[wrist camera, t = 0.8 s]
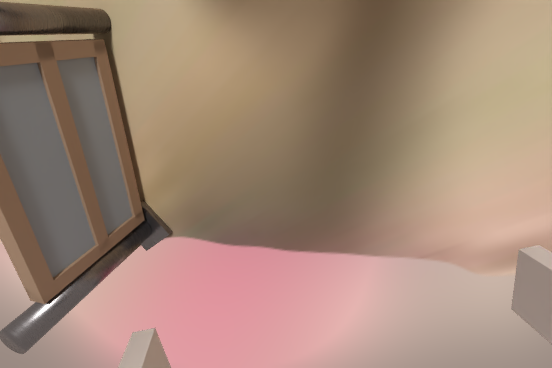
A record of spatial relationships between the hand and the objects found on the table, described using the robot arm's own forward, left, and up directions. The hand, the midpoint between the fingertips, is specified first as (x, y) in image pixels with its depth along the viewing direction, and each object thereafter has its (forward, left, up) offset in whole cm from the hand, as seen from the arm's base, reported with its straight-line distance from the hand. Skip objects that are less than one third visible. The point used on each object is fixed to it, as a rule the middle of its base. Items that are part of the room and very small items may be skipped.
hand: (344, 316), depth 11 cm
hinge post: (-6, -33, -24) cm, 41 cm away
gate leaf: (-16, -24, -23) cm, 37 cm away
